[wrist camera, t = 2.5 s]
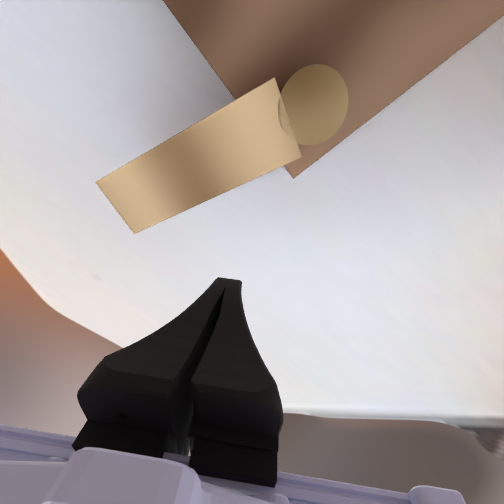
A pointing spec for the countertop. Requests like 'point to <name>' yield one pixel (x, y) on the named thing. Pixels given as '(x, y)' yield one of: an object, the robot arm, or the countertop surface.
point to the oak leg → (229, 147)
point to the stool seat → (332, 46)
